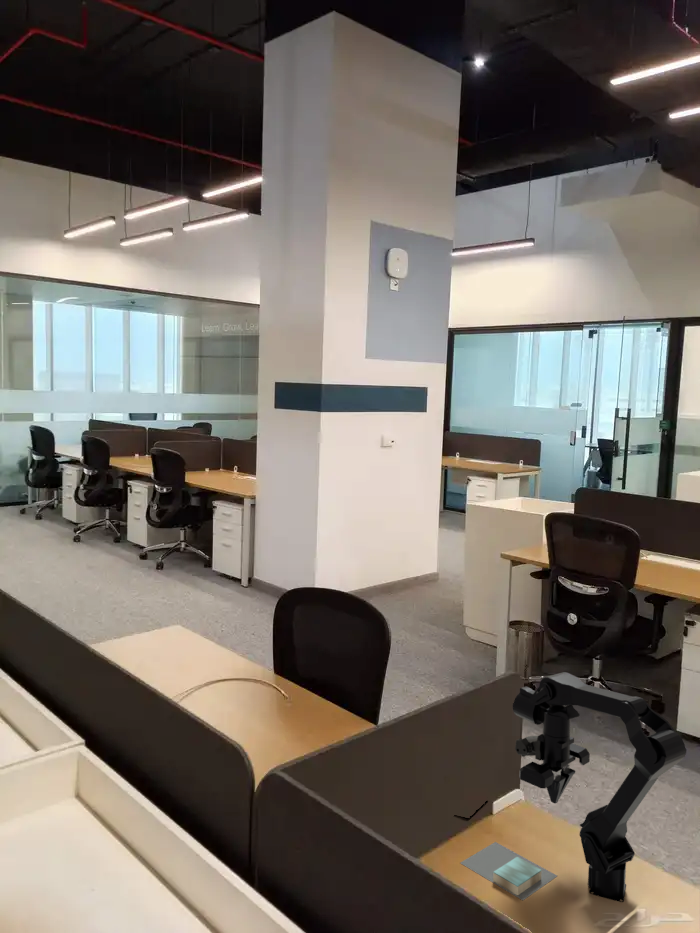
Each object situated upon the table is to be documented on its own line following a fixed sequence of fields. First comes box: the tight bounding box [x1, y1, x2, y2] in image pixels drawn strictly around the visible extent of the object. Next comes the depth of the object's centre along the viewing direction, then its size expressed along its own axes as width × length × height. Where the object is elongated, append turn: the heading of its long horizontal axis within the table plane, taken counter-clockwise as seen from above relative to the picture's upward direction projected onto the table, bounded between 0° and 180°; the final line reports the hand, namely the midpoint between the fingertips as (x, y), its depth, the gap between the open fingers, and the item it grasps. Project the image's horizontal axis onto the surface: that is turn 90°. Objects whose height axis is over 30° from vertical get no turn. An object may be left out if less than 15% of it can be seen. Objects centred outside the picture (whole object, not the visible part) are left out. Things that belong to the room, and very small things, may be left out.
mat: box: [460, 841, 558, 901], centre depth 157 cm, size 16×12×1 cm
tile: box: [493, 857, 541, 896], centre depth 154 cm, size 6×2×8 cm
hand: (554, 802), depth 162 cm, fingers closed
